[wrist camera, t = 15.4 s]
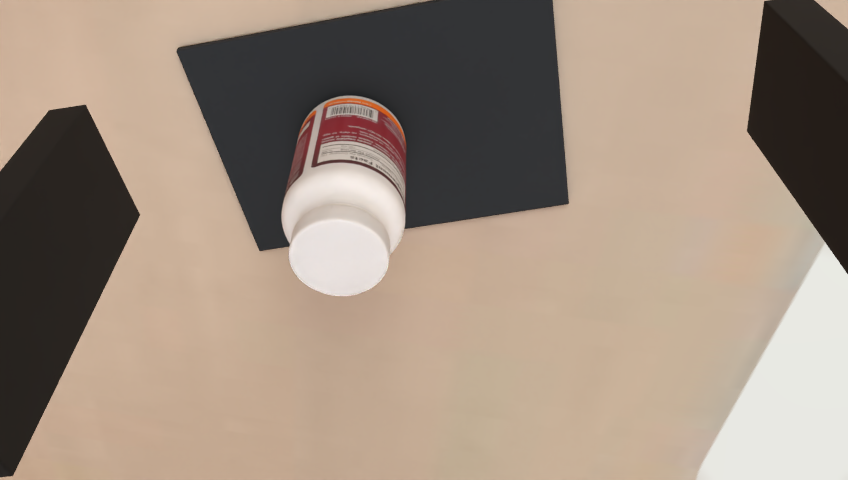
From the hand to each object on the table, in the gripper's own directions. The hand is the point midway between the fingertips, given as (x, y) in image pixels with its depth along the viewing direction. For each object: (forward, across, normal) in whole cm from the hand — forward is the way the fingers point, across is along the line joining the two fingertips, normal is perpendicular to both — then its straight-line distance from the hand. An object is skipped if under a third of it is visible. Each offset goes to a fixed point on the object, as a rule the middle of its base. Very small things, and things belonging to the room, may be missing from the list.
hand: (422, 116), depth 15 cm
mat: (+25, -4, -14) cm, 29 cm away
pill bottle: (+24, -6, -14) cm, 29 cm away
